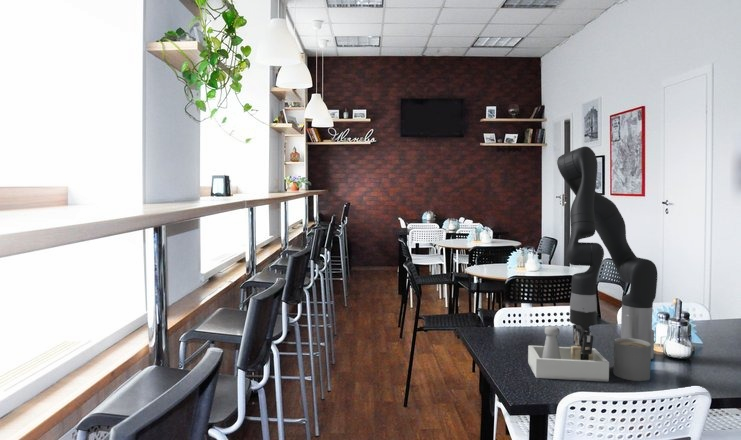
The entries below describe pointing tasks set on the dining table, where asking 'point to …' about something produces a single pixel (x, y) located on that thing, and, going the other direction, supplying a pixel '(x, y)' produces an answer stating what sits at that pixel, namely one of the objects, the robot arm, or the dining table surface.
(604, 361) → the tray
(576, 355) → the beech cube
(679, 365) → the dining table surface
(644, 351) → the coffee mug
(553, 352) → the salt shaker
